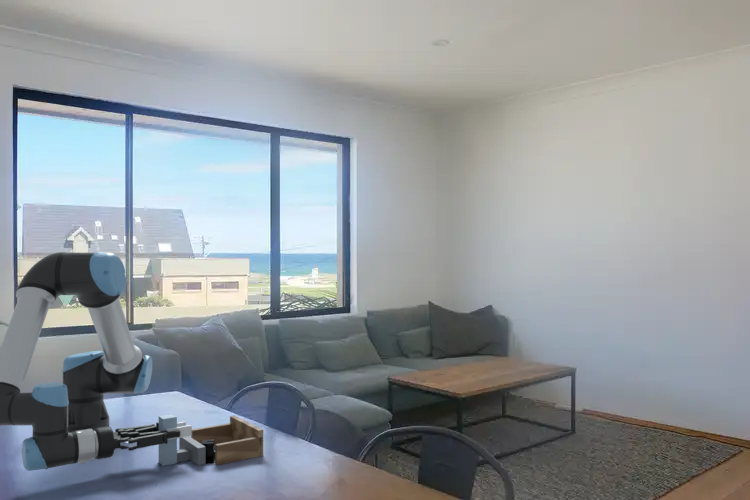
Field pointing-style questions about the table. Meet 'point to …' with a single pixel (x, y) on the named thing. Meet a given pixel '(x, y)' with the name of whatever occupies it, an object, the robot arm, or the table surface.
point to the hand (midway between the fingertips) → (188, 428)
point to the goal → (232, 440)
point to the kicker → (187, 446)
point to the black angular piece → (209, 451)
